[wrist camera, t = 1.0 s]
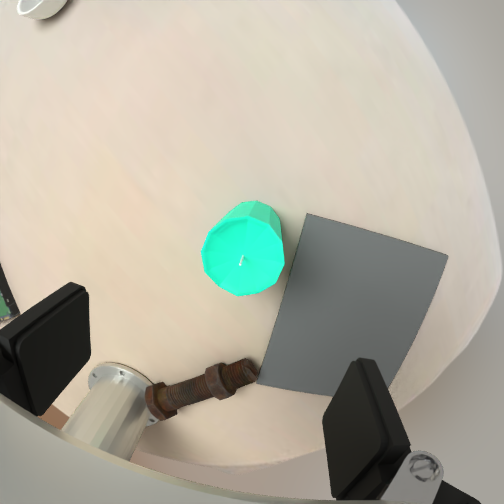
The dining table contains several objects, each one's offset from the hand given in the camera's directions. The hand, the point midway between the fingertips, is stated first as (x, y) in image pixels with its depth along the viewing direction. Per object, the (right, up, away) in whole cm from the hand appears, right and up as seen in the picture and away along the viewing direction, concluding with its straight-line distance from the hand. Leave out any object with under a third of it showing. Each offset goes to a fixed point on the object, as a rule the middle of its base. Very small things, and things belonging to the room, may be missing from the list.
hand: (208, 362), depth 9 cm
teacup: (-26, +41, +15) cm, 50 cm away
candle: (+1, +6, +22) cm, 23 cm away
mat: (+13, -5, +24) cm, 28 cm away
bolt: (-5, -13, +28) cm, 31 cm away
